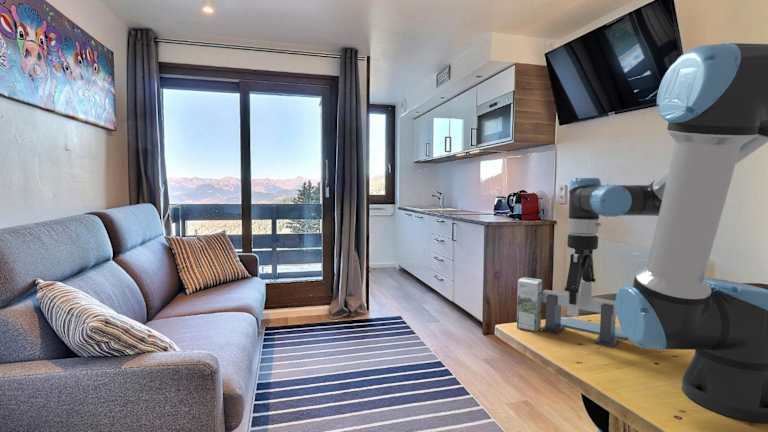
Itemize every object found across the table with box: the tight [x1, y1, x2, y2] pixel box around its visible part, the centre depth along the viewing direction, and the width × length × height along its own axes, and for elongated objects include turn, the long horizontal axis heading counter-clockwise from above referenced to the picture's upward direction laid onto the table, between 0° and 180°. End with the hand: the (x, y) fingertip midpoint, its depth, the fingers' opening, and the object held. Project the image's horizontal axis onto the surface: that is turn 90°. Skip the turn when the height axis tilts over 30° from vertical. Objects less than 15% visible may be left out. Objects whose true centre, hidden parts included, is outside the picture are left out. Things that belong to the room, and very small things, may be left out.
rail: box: [541, 289, 617, 317], centre depth 110 cm, size 4×20×3 cm, turn 50°
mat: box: [561, 315, 628, 341], centre depth 117 cm, size 8×21×1 cm, turn 50°
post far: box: [540, 295, 565, 336], centre depth 115 cm, size 7×4×10 cm, turn 140°
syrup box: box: [516, 276, 543, 333], centre depth 116 cm, size 6×6×14 cm
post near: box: [594, 305, 620, 348], centre depth 106 cm, size 7×4×10 cm, turn 140°
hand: (579, 309), depth 110 cm, fingers open, 13 cm apart
